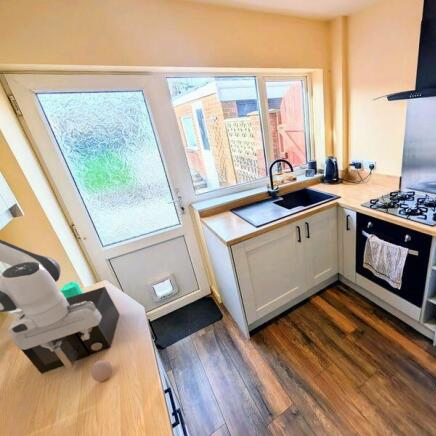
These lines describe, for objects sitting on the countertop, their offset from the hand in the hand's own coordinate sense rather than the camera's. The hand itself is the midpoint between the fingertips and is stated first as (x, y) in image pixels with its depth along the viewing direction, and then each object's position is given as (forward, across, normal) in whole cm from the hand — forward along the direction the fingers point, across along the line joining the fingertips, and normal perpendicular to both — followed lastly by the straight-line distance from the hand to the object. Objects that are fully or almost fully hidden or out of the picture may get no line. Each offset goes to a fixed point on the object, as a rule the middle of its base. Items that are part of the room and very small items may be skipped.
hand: (71, 343), depth 79 cm
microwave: (+10, +3, -12) cm, 16 cm away
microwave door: (+10, +6, -1) cm, 12 cm away
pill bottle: (+11, +26, -33) cm, 43 cm away
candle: (+11, +12, -39) cm, 42 cm away
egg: (+10, -8, +9) cm, 16 cm away
